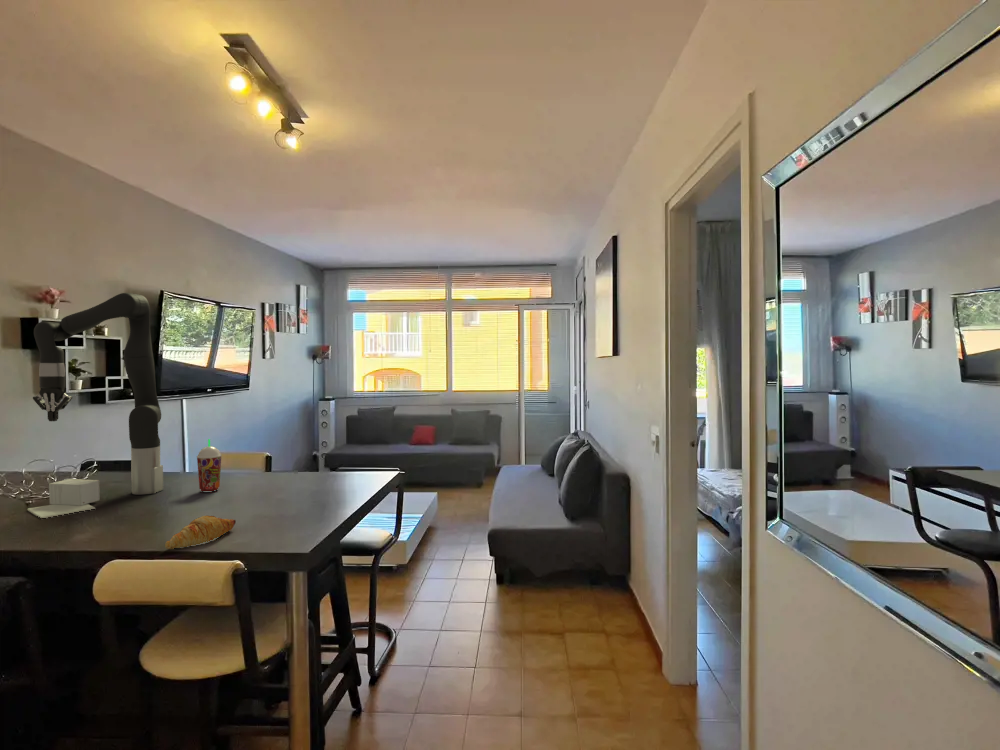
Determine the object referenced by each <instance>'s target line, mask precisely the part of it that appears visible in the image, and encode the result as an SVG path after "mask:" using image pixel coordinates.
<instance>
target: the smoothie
mask: <svg viewBox="0 0 1000 750" xmlns="http://www.w3.org/2000/svg"><path fill="white" fill-rule="evenodd" d="M207 444H208V445H207V446H205V447H202V449H201V450H200V451H199V452H198V455H197V456H196V461H197V463H196V464H197V475H198V486H199V487H198V488H199V490H200V492H201V491H214V490H217V489H218V490H219V488H220V487H221V486H220V485H221V467H222V453H221V451H220V450H219V449H218V448H217V447H215V446H212V445H211V439H210V438H208V440H207Z"/></svg>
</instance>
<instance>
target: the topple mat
mask: <svg viewBox="0 0 1000 750" xmlns="http://www.w3.org/2000/svg"><path fill="white" fill-rule="evenodd" d="M91 509H95V510H96V507H95V506H93V505H90V503H88V504H85V505H82V506H76V505H59V504H48V505H42V506H35V507H29V508H27V511H28V512H29V513H31V514H32V515H34V516H36V517H37V516H38V517H37V518H39V517H40V518H46V519H49V518H48V517H51V518H54V517H53V516H57V517H59V516H58V515H62V516H65V515H64V514H68V515H70V514H69V513H73V514H75V513H74V512H79V511H84V512H86V511H85V510H90V511H92V510H91ZM79 513H80V512H79ZM40 518H39V519H40Z"/></svg>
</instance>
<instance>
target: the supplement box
mask: <svg viewBox="0 0 1000 750" xmlns="http://www.w3.org/2000/svg"><path fill="white" fill-rule="evenodd" d="M48 489H49V492H48V494H49V505H53V504H59V505H76V506H82V505H85V504H90V503H91V504H92V503H94V502H97V501H100V500H101V499H100V480H99V479H79V478H78V479H77V478H66V479H62V480H59V481H54V482H51V483H50V482H49V483H48Z"/></svg>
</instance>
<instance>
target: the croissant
mask: <svg viewBox="0 0 1000 750" xmlns="http://www.w3.org/2000/svg"><path fill="white" fill-rule="evenodd" d="M235 524H236V519H233V518H231V519H230V518H222V517H221V518H220V517H217V516H214V515H201V516H200V517H198V518H195V519H193V520H192V521H190V523H189V524H188V525H186V526H184V527H183V528H182V529H181V531H179V532H178V533H176V534H174V535H173V536H172V537H171V538H170V540H167V541H165V543H164V548H165V549H167V550H175V549H174V548H180V547H187V546H191V545H196V544H200V543H203V542H206V541H207V542H208V541H210V540H213V539H214V538H217V537H220V536H221V535H223V534H224V533H226V532H228V531H229V530H230V531H232V530H233V528H234V526H235ZM230 531H229V532H230ZM229 532H228V533H229ZM226 534H227V533H226ZM223 536H224V535H223Z"/></svg>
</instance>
